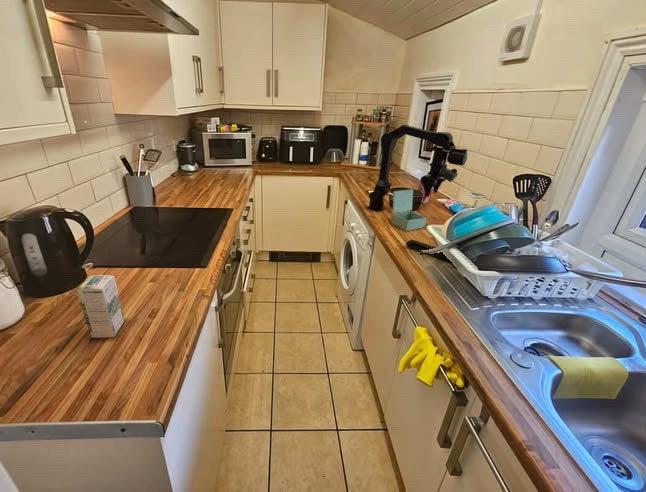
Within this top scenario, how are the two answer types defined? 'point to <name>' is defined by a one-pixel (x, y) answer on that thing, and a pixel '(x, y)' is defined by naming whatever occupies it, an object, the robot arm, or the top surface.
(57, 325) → the top surface
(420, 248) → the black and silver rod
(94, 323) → the syrup box
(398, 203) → the lid
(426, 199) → the soda can
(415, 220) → the keepsake box
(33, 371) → the top surface
